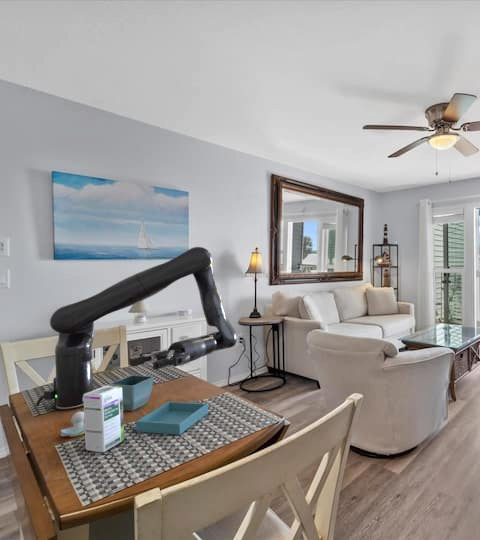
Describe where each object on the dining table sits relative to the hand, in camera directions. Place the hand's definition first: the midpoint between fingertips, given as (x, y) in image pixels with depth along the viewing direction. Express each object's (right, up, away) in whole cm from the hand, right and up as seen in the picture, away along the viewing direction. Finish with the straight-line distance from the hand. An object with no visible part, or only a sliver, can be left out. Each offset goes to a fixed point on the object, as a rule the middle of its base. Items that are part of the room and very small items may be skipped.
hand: (142, 364), depth 95 cm
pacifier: (-16, -18, -4) cm, 24 cm away
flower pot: (-11, -18, +12) cm, 24 cm away
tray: (+8, -17, +3) cm, 19 cm away
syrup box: (-3, -18, -10) cm, 21 cm away
